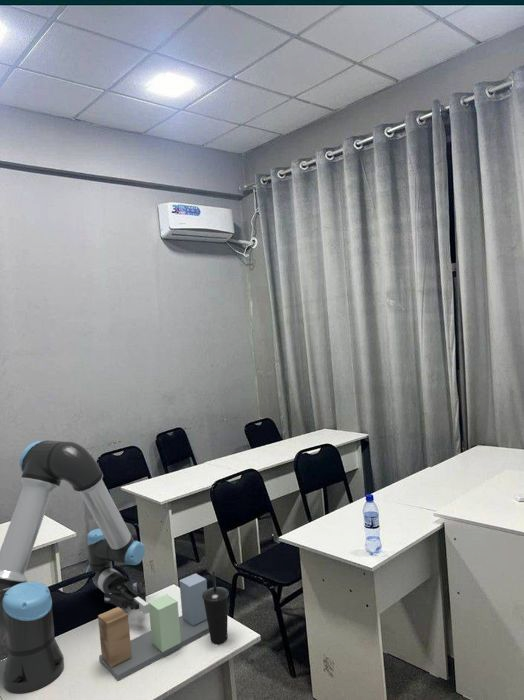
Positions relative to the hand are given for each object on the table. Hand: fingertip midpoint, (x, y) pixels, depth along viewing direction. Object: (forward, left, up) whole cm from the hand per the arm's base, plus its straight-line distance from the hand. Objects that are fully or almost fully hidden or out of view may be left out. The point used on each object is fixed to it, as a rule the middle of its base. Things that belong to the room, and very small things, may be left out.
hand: (146, 609), depth 156 cm
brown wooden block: (+6, -13, -6) cm, 16 cm away
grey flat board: (+7, 0, -8) cm, 11 cm away
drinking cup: (+18, +13, -8) cm, 24 cm away
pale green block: (+11, 0, -6) cm, 12 cm away
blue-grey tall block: (+6, +13, -6) cm, 16 cm away
